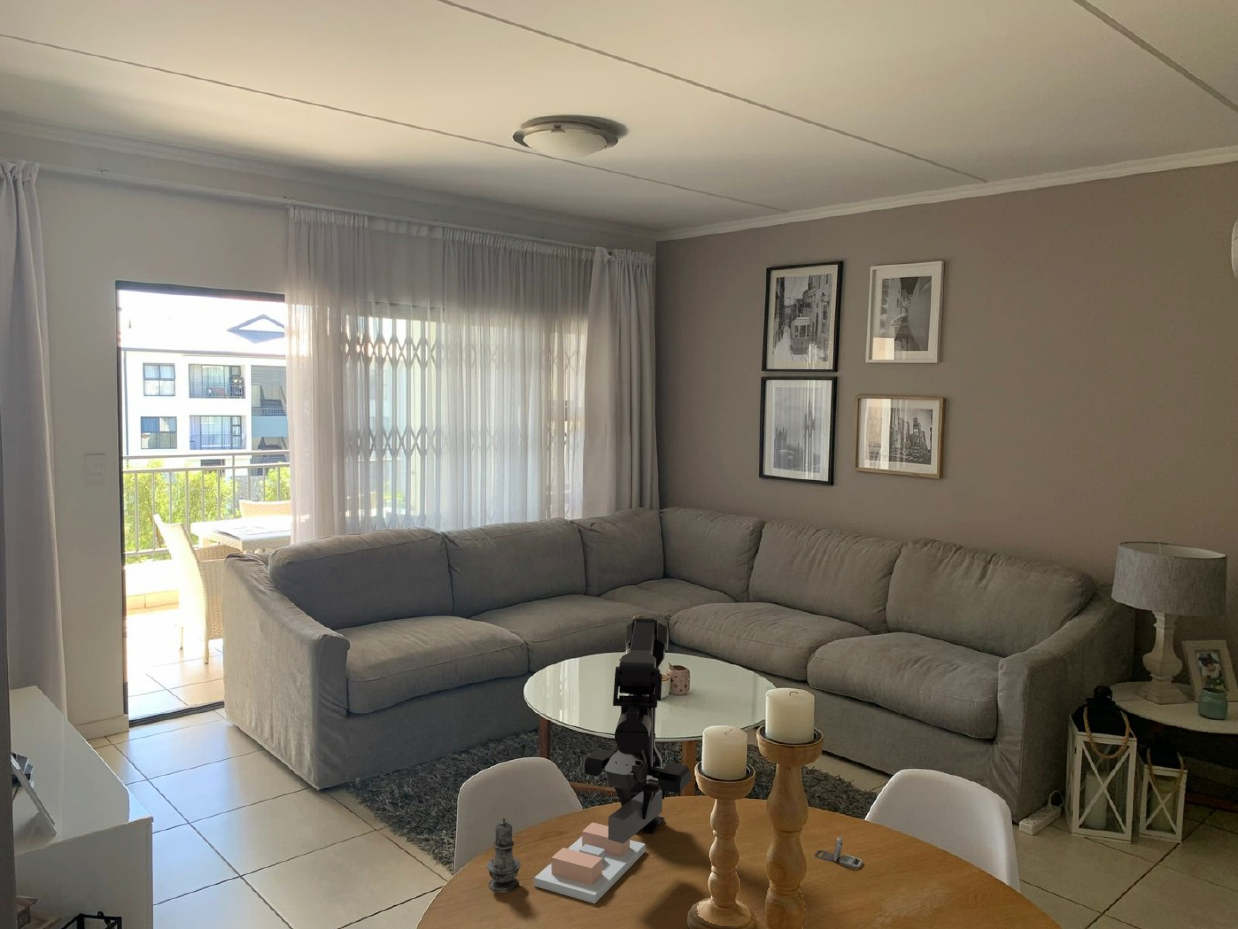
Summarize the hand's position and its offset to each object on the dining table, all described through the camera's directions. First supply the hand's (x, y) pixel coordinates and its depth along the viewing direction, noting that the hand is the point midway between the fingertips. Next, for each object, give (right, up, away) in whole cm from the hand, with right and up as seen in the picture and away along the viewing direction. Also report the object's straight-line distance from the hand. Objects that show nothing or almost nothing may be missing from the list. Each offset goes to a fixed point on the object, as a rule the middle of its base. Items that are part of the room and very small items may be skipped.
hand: (635, 816), depth 162 cm
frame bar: (0, -2, 0) cm, 2 cm away
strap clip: (+38, -11, +7) cm, 40 cm away
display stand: (-8, -11, +3) cm, 14 cm away
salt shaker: (-23, -11, -2) cm, 26 cm away
